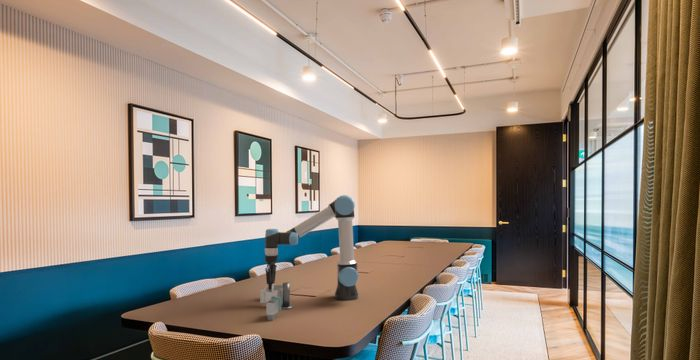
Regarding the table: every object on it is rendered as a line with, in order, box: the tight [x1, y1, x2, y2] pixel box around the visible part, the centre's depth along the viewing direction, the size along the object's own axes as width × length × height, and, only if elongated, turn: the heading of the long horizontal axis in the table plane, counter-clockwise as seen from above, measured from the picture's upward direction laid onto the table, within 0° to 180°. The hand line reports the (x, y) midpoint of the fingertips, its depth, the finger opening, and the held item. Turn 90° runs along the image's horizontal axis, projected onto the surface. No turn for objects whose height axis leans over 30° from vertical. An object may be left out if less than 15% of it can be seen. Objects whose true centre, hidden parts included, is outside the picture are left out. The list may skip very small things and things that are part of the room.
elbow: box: [259, 288, 283, 306], centre depth 235 cm, size 12×5×9 cm, turn 81°
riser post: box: [281, 281, 294, 310], centre depth 234 cm, size 8×8×14 cm
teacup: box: [262, 284, 283, 291], centre depth 253 cm, size 14×11×8 cm
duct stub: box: [265, 297, 282, 322], centre depth 213 cm, size 10×5×10 cm, turn 170°
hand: (270, 294), depth 241 cm, fingers closed
